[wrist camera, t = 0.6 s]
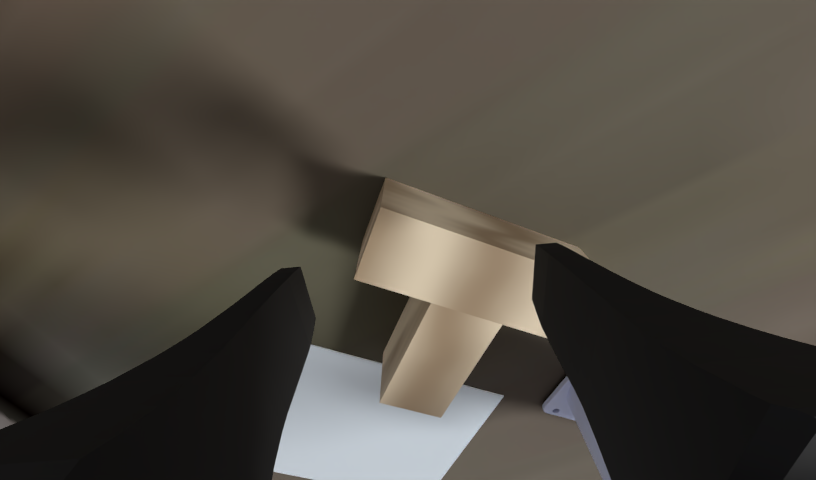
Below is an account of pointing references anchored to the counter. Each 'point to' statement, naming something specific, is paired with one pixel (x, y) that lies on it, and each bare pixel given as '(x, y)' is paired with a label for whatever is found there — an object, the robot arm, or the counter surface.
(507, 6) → the counter surface
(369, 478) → the mat
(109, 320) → the counter surface
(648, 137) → the counter surface
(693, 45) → the counter surface
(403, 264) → the t block
